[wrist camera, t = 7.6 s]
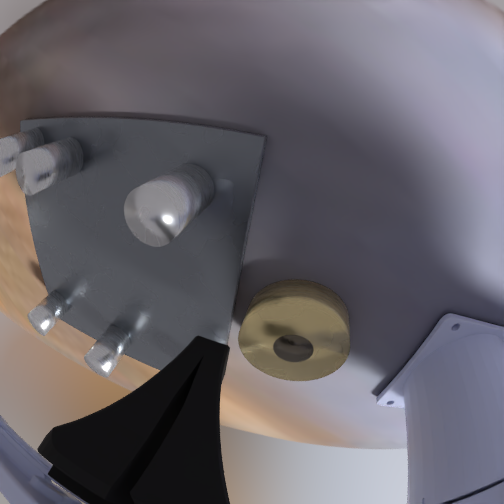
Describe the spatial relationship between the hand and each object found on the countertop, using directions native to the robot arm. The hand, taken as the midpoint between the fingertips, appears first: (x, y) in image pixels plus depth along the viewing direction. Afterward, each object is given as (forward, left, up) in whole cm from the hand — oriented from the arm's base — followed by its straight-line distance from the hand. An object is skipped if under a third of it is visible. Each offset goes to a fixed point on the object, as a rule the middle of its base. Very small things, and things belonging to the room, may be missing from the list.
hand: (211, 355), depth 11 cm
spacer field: (+8, 0, -3) cm, 8 cm away
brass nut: (-3, 0, -4) cm, 5 cm away
